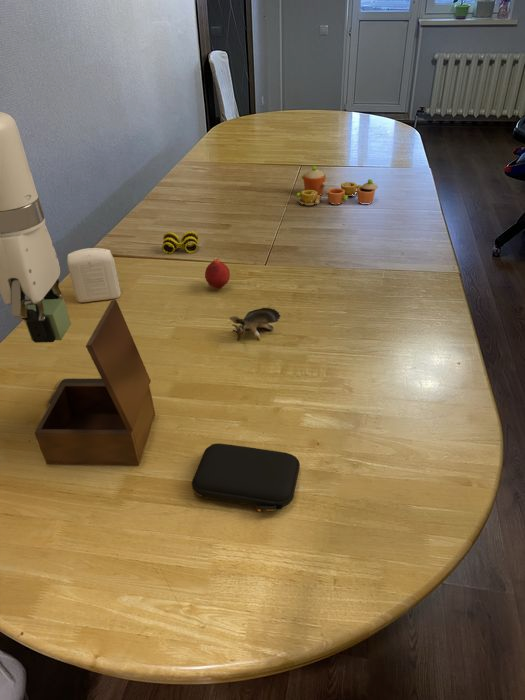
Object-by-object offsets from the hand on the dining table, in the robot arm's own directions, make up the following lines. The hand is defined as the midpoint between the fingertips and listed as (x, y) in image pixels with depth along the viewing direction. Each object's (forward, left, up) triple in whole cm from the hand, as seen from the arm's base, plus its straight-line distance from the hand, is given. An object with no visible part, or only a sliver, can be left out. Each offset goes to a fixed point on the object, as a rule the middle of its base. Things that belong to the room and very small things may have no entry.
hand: (51, 330), depth 78 cm
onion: (+19, +45, -18) cm, 52 cm away
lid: (+11, -5, -3) cm, 13 cm away
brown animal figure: (+29, +25, -18) cm, 42 cm away
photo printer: (-9, +41, -18) cm, 46 cm away
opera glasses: (+6, +67, -18) cm, 69 cm away
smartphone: (+1, +6, -18) cm, 19 cm away
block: (0, 0, 0) cm, 0 cm away
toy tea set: (+51, +106, -18) cm, 119 cm away
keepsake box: (+6, -5, -18) cm, 19 cm away
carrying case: (+30, -14, -18) cm, 38 cm away
